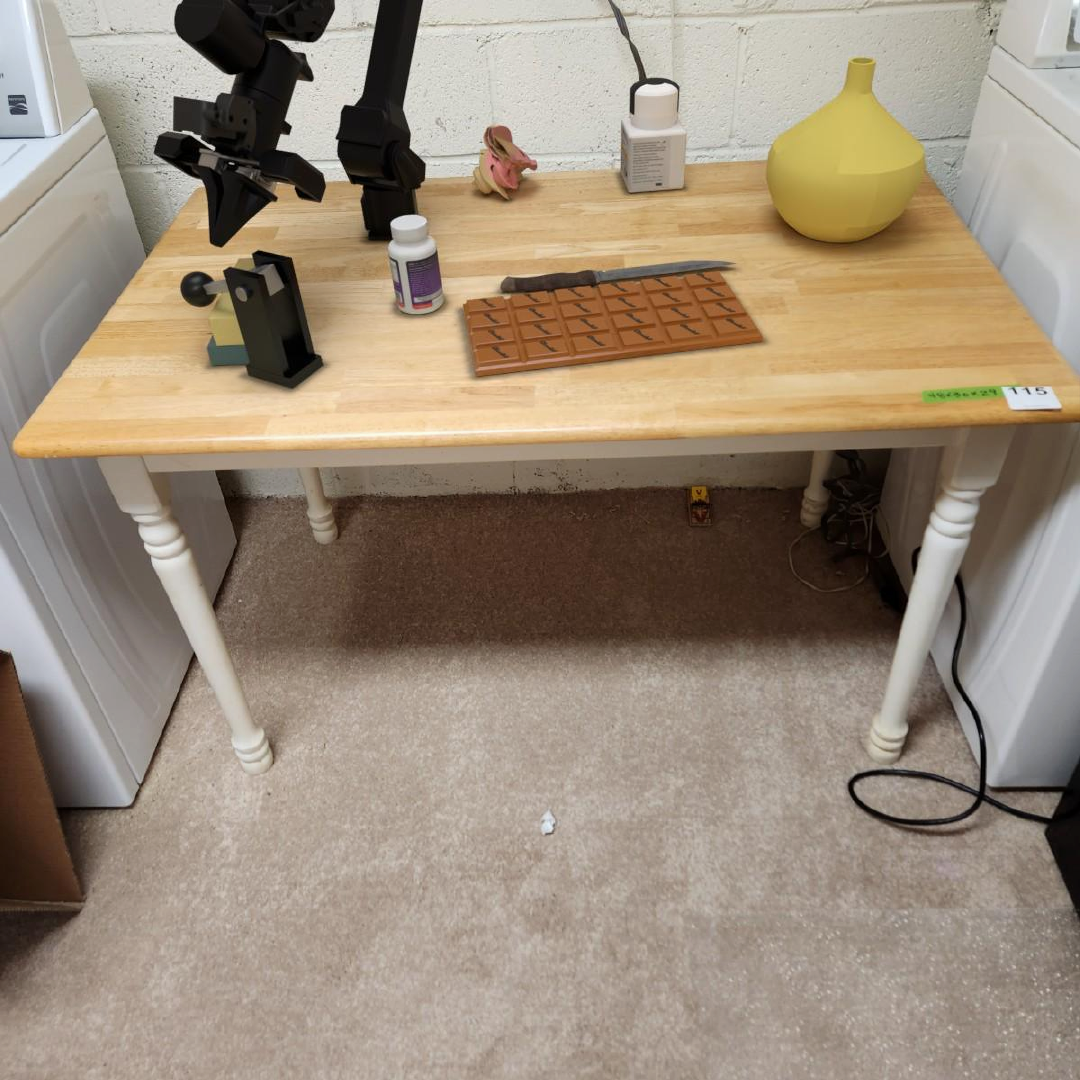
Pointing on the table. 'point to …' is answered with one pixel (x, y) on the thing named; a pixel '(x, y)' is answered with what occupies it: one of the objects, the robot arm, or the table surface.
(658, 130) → the container
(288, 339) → the stand
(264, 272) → the lever handle
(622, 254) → the table surface
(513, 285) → the knife
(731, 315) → the chocolate bar
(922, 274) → the table surface
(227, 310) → the butter
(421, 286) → the pill bottle
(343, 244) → the table surface
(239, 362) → the butter dish
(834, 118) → the vase
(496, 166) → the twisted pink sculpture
